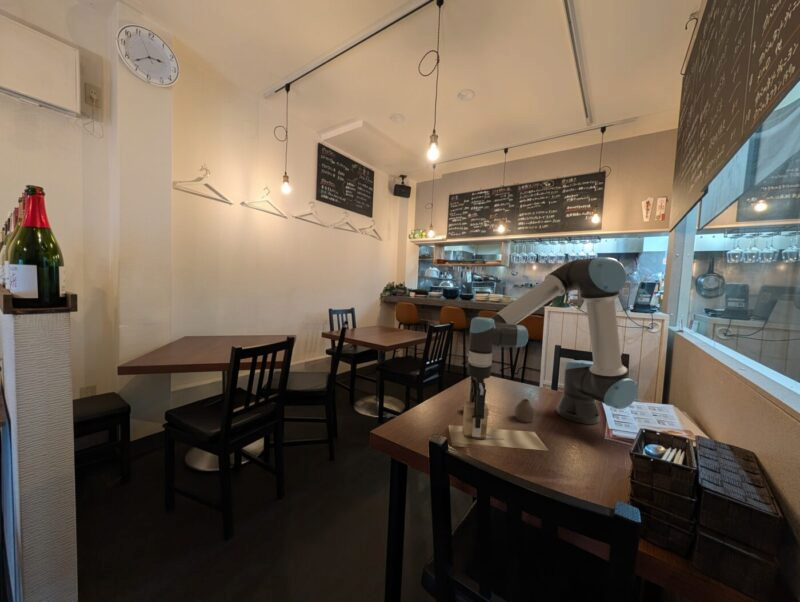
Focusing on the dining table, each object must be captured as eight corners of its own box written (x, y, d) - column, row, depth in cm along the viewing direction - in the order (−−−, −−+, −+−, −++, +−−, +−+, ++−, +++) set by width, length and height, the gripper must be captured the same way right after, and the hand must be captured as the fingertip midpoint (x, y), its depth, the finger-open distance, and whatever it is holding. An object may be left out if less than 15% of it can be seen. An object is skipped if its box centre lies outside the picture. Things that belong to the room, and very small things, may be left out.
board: (534, 435, 109) (534, 432, 109) (548, 454, 97) (548, 450, 97) (448, 428, 110) (448, 425, 110) (452, 445, 98) (452, 442, 98)
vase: (511, 421, 119) (513, 399, 118) (518, 416, 124) (520, 395, 123) (529, 428, 114) (531, 404, 114) (536, 422, 119) (538, 400, 119)
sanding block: (482, 431, 106) (485, 403, 106) (485, 438, 101) (488, 408, 101) (462, 429, 107) (464, 401, 106) (464, 436, 102) (466, 407, 101)
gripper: (464, 356, 112) (459, 419, 113) (472, 371, 94) (467, 445, 95) (485, 358, 111) (480, 421, 113) (497, 372, 93) (492, 447, 95)
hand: (474, 432), depth 104 cm, fingers closed on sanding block, 5 cm apart
